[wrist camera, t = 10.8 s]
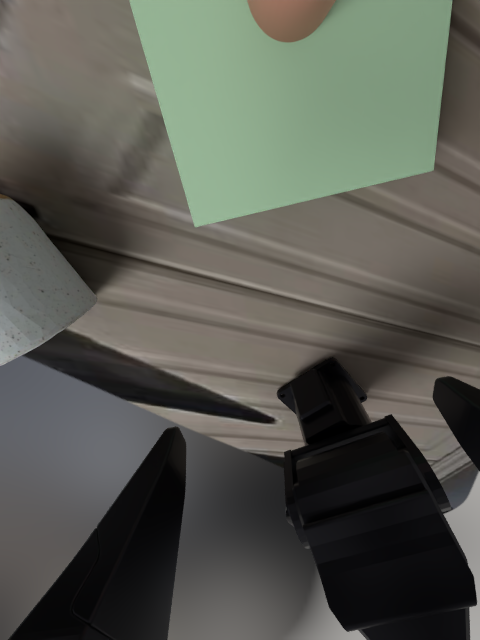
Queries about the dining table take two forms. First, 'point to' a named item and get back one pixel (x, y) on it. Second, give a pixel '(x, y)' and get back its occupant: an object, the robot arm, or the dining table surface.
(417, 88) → the pitch
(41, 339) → the ceramic mug
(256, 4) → the salmon pink cylinder
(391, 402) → the dining table surface
